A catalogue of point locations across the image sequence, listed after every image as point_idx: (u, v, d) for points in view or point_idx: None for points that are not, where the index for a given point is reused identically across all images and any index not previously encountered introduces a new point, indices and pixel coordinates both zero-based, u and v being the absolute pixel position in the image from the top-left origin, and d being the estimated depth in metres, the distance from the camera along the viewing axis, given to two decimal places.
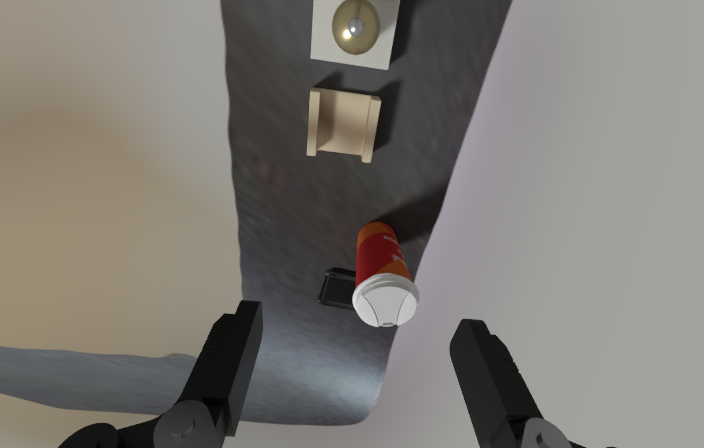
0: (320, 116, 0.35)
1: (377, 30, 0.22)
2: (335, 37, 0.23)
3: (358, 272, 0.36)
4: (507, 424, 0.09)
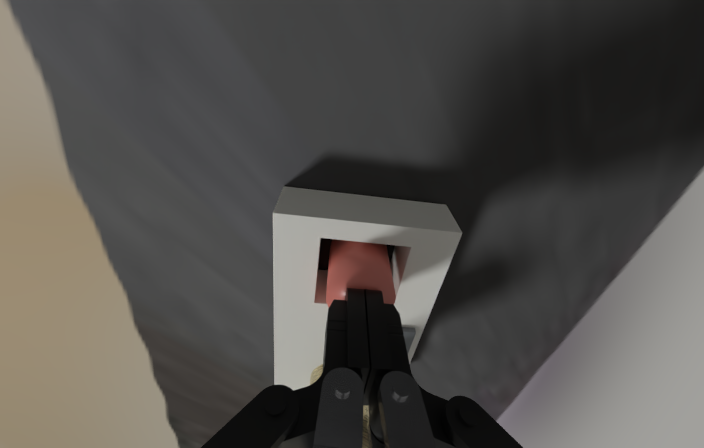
0: None
1: None
2: None
3: None
4: (375, 379, 0.10)
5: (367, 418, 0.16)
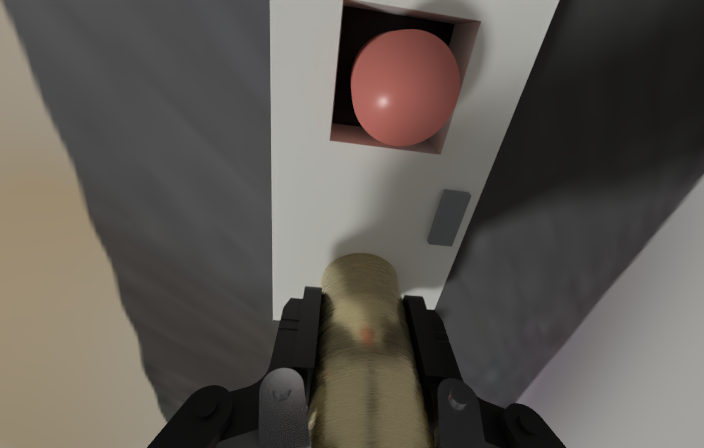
0: None
1: None
2: None
3: None
4: (427, 386, 0.10)
5: (403, 316, 0.11)
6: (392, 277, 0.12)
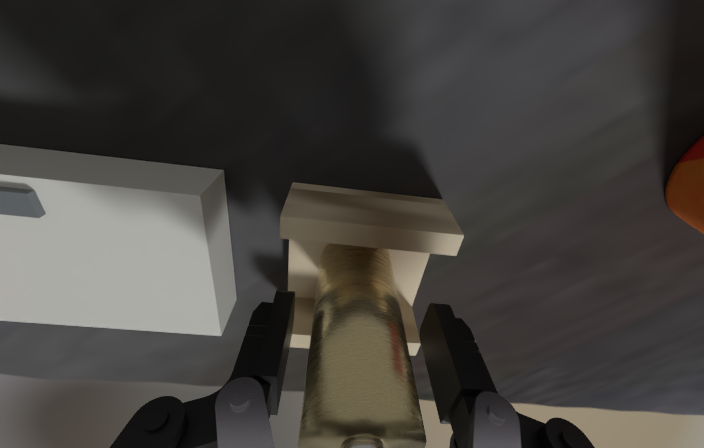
0: None
1: None
2: None
3: None
4: (462, 398, 0.09)
5: (394, 288, 0.12)
6: (384, 255, 0.14)
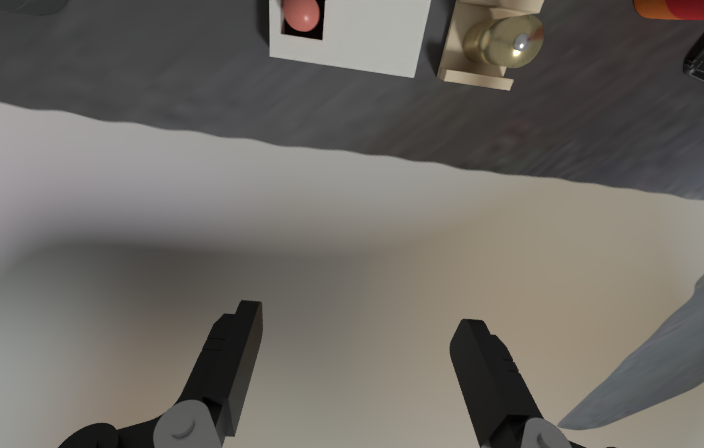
0: (467, 70, 0.32)
1: (539, 45, 0.24)
2: (498, 51, 0.24)
3: None
4: (507, 424, 0.09)
5: None
6: None
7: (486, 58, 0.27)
